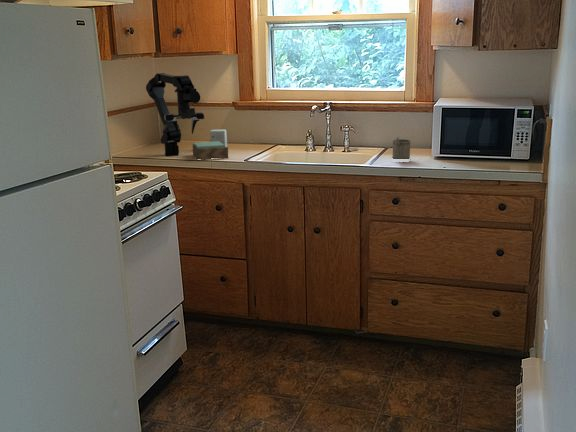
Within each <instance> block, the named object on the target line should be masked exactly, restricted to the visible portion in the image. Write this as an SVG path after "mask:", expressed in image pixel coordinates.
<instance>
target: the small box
mask: <svg viewBox="0 0 576 432" xmlns="http://www.w3.org/2000/svg"><path fill="white" fill-rule="evenodd" d="M227 134H228V133H227V129H211V130H210V131H209V137H210V139H209V140H210V141H209V142H215V141H220V142H221V143H222V144H223V145H224V146H226V147H228V137H227Z"/></svg>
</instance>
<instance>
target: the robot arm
mask: <svg viewBox="0 0 576 432" xmlns="http://www.w3.org/2000/svg"><path fill="white" fill-rule="evenodd" d="M167 84H171V85H172V86H173V87H174V88H175V89H174V93H176V99H177V114H174V113H170V110H169V108H168V105H167V102H166V100H165V99H164V96H165V88H166V87H167ZM145 90H146V92H147V94H148V96H149V98H151V99H152V100H153V101H154V105H155V106H156V109H157V111H158V114H159V117H160V120H161V122H162V124H163V128H162V136H161V137H160V143H161V144H162V145H164V156H166V157H173V156H174V155H175V156H179V154H180V148H179V147H180V146H179V145H178V143H181V140H182V132H181V131H182V130H181V129H180V126H179V124H178V121H177V119H181V120H185V119H188V120H191V134H192V135H193V134H194V132H195V128H196V127H195V126H197V123H198V122H199V121H200V120H204V119H205V114H204V113H203V112H202V111H201V112H200V111H199V112H198V111H197V112H196V109H195V107H191V105H190V104H198V103H199V102H200V101H201V94H200V92H198V91H197V88H195V85H194V84H193V82H192V80H191V78H190V76H189V75H173V74H169V73H165V72H160V73H159V72H158V73H155V75H154V76H153V77H152V78H150V79H149V81H148V82H147V84H146V85H145Z"/></svg>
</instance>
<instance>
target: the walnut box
mask: <svg viewBox="0 0 576 432" xmlns="http://www.w3.org/2000/svg"><path fill="white" fill-rule="evenodd" d="M192 155H193V157H194V158H195V157H196V158H197V159H211V158H228V159H229V147H228V146H227V147H226V146H224V147H221V148H205V149H197V148H196V147H195V146H194V143H193V144H192ZM196 158H195V159H196ZM197 159H196V160H197Z"/></svg>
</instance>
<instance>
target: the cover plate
mask: <svg viewBox="0 0 576 432" xmlns="http://www.w3.org/2000/svg"><path fill="white" fill-rule="evenodd" d="M193 144H194V146H195V147H196V148H197V149H205V148H221V147H224V145H223V144H222V143H221V142H220V141H215V142H210V141H201V142H193Z"/></svg>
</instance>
